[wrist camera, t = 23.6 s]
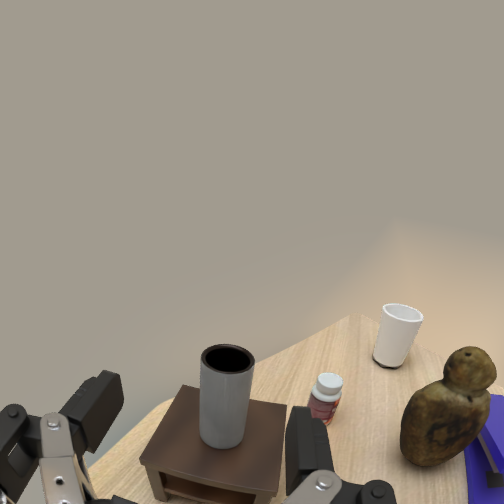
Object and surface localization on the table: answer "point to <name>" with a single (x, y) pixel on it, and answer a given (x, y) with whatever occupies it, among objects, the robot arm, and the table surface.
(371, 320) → the table surface
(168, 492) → the plant stand
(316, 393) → the pill bottle
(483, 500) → the stapler
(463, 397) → the sculpture
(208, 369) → the planter
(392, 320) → the cup
